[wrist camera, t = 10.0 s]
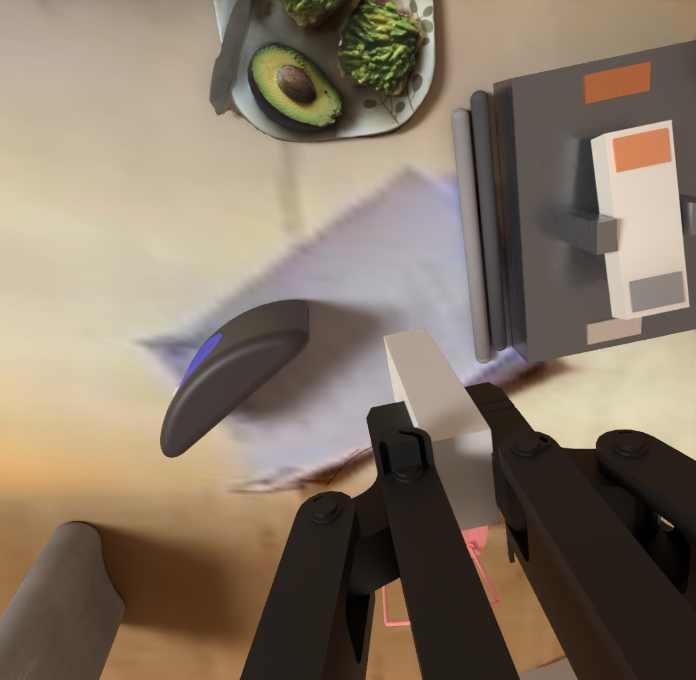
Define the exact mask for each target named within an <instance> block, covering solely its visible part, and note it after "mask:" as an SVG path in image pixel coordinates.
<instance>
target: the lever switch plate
mask: <svg viewBox="0 0 696 680" xmlns="http://www.w3.org/2000/svg"><path fill="white" fill-rule="evenodd" d="M493 85H494V99H495V113H496V127H497V141H498V155H499V169H500V183H501V197H502V211H503V224H504V238H505V252H506V266H507V280H508V294H509V308H510V322H511V336H512V347H513V348H514V349H515V350H516V351H517V352H518V353H519V354H520V355H521V357H522V358H523V359H524V360H525V361H526V362H527V363H528V364H530V363H535V362H540V361H544V360H549V359H554V358H559V357H564V356H569V355H573V354H578V353H583V352H588V351H593V350H597V349H602V348H607V347H612V346H617V345H621V344H626V343H631V342H636V341H641V340H645V339H650V338H655V337H660V336H665V335H669V334H674V333H679V332H684V331H689V330H693V329H696V40H694V41H689V42H684V43H680V44H675V45H670V46H665V47H660V48H656V49H651V50H646V51H641V52H636V53H632V54H627V55H622V56H617V57H612V58H607V59H603V60H598V61H593V62H588V63H583V64H579V65H574V66H569V67H564V68H559V69H555V70H550V71H545V72H540V73H535V74H530V75H526V76H521V77H516V78H511V79H508V80H504V81H501V82H497V83H493ZM668 120H672V130H673V140H674V151H675V161H676V171H677V182H678V192H679V203H680V213H681V223H682V234H683V244H684V254H685V265H686V275H687V286H688V296H689V306H690V307H686V308H681V309H677V310H672V311H667V312H662V313H657V314H653V315H648V316H643V317H638V318H633V319H629V320H624V319H619V318H614V317H612V311H611V303H610V294H609V286H608V278H607V270H606V261H605V253H609V252H614V251H616V250H617V219H615V218H611V217H607V216H603V215H600V212H599V204H598V196H597V187H596V179H595V171H594V163H593V154H592V146H591V140H592V139H594V138H596V137H599V136H601V135H603V134H605V133H610V132H615V131H620V130H625V129H629V128H634V127H639V126H644V125H649V124H654V123H658V122H663V121H668Z"/></svg>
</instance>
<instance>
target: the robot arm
mask: <svg viewBox="0 0 696 680" xmlns="http://www.w3.org/2000/svg"><path fill="white" fill-rule="evenodd" d="M384 342H385V347H386V353H387V359H388V364H389V370H390V375H391V381H392V387H393V392H394V398H395V403H392V404H387V405H382V406H377V407H372V408H371V409H370V411H369V414H368V416H367V418H366V419H367V424H368V429H369V434H370V438H371V443H372V448H373V453H374V458H375V463H376V467H377V472H378V475H377V478H376V481H375V482H374V484H373V485H372V486H371V487H370V488H369V489H368V490H367V491H365V492H364V493H362V494H360V495H358V496H356V497H354V498H352V499H351V497H350V496H348V495H346V494H344V493H342V492H335V491H329V492H323V493H319V494H317V495H315V496H313V497H310V498H309V499H308V500H307V501H305V502H304V503H303V504H302V505H301V507H300V508H299V510H298V512H297V514H296V517H295V520H294V523H293V525H292V528H291V531H290V534H289V537H288V540H287V543H286V546H285V549H284V552H283V555H282V558H281V561H280V564H279V566H278V569H277V572H276V575H275V578H274V581H273V584H272V587H271V590H270V593H269V596H268V599H267V602H266V604H265V607H264V610H263V613H262V616H261V619H260V622H259V625H258V628H257V631H256V634H255V637H254V640H253V642H252V645H251V648H250V651H249V654H248V657H247V660H246V663H245V666H244V669H243V672H242V675H241V678H240V680H365V678H366V670H367V662H368V654H369V645H370V637H371V629H372V621H373V613H374V604H375V591H376V590H377V589H379V588H381V587H383V586H385V585H387V584H388V583H390V582H392V581H394V580H396V579H398V578H399V577H400V579H401V584H402V589H403V593H404V598H405V602H406V607H407V612H408V616H409V621H410V625H411V630H412V634H413V639H414V644H415V648H416V653H417V657H418V662H419V667H420V671H421V676H422V680H520V678H519V676H518V673H517V671H516V668H515V666H514V663H513V661H512V658H511V656H510V653H509V651H508V648H507V646H506V643H505V641H504V638H503V636H502V633H501V631H500V628H499V626H498V623H497V620H496V618H495V615H494V613H493V610H492V608H491V605H490V603H489V600H488V598H487V595H486V593H485V590H484V588H483V585H482V583H481V580H480V578H479V575H478V573H477V570H476V568H475V565H474V563H473V560H472V558H471V555H470V553H469V550H468V548H467V545H466V543H465V540H464V538H463V535H462V533H461V531H463V530H468V529H473V528H478V527H483V526H487V525H492V524H497V523H500V520H499V510H498V507H499V508H500V510H501V512H502V514H503V516H504V518H505V524H506V535H507V546H508V556H509V561H510V563H513V562H515V560H514V552H515V554H516V556H517V558H518V560H519V562H520V564H521V566H522V568H523V570H524V572H525V574H526V576H527V578H528V580H529V582H530V584H531V586H532V588H533V590H534V592H535V594H536V596H537V598H538V600H539V602H540V604H541V606H542V608H543V610H544V612H545V614H546V616H547V618H548V620H549V622H550V624H551V626H552V628H553V630H554V632H555V634H556V636H557V638H558V640H559V642H560V644H561V646H562V648H563V650H564V652H565V654H566V656H567V658H568V660H569V662H570V665H571V666H572V668H573V671H574V672H575V675H576V676H577V678H578V680H696V461H695V460H694V459H692V458H690V457H688V456H687V455H685V454H683V453H681V452H680V451H678V450H676V449H674V448H673V447H671V446H669V445H667V444H666V443H664V442H662V441H660V440H659V439H657V438H655V437H653V436H651V435H648V434H646V433H644V432H640V431H635V430H614V431H609V432H606V433H604V434H603V435H601V436H600V437H599V438H598V440H597V442H596V449H571V448H563V447H560V446H559V444H558V443H557V442H556V441H555V440H554V439H553V438H551V437H550V436H549V435H546V434H543V433H541V432H535V431H534V430H533V429H532V428H531V426H530V425H529V424H528V422H527V421H526V420H525V418H524V417H523V416H522V415H521V413H520V412H519V411H518V409H517V408H515V406H514V404H513V403H512V402H511V400H509V398H508V397H507V395H506V394H505V393H504V391H503V390H502V389H501V388H499V387H497V386H495V385H493V384H491V383H489V382H486V383H482V384H477V385H472V386H467V387H464V386H463V385H462V383H461V382H460V380H459V378H458V377H457V375H456V374H455V372H454V370H453V369H452V367H451V366H450V364H449V363H448V361H447V359H446V358H445V356H444V355H443V353H442V351H441V350H440V348H439V347H438V345H437V344H436V342H435V340H434V339H433V337H432V336H431V334H430V332H429V331H428V329H427V328H426V327H424V328H419V329H415V330H410V331H405V332H400V333H395V334H391V335H386V336H384ZM661 517H663V518H664V519H665V520H667V521H668V522H670V523H671V524H672V525H674V528H672V527H671V526H669V525H667V524H666V523H664V522H663V521H662V520H661Z"/></svg>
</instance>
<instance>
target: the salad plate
mask: <svg viewBox="0 0 696 680" xmlns="http://www.w3.org/2000/svg"><path fill="white" fill-rule="evenodd" d="M268 4H273V5H275V11H274V13H272V14H268V13H266V11H265V7H266V6H267V5H268ZM214 5H215V11H216V17H217V24H218V29H219V34H220V39H221V43H222V44H221V46H222V49H221V53H220V55H219V57H218V58H217V59H216V61H215V65H214V69H213V74H212V80H211V86H210V102H211V103H212V106H213V107H214V109H215V111H216V114H217V115H221V114H224V113H225V112H226V111H227V110H233V111H235V112H237V113H238V114H240V115H241V116H243V117H244V118H245V119H246V120H247V121H248V122H249V123H251V124H252V125H253V126H254V127H255V128H256V129H258V130H260V131H261V132H263V133H264V134H268V135H270V136H271V137H273V138H275V139H278V140H282V141H290V142H311V141H324V140H331V139H340V138H351V137H358V138H361V137H374V136H378V135H384V134H390V133H393V132H395V131H397V130H398V129H400V128H401V127H402V126H403V125H405V124H406V123H407V122H408V121H409V120H410V118H411V117H412V116H413V115H414V114H415V112H416V111H417V110H418V108H419V107H420V105H421V104H422V102H423V101H424V99H425V97H426V96H427V94H428V92H429V89H430V87H431V85H432V82H433V76H434V70H435V61H436V45H435V44H436V40H435V26H434V0H403V5H404V13H405V15H404V14H402V13H399V12H396V10H397V7H396V5H395V4H394V3H393V2H387V3H385V7H383V6H380V5H378V4H377V3H376V1H374V0H214ZM341 38H342V45H341V46H338V45H339V41H340V40H341Z"/></svg>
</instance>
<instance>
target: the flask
mask: <svg viewBox="0 0 696 680" xmlns="http://www.w3.org/2000/svg"><path fill="white" fill-rule="evenodd" d="M124 613H125V603H124V602H123V600H122V599H121V597H120V596H119V594H118V593H117V591H116V590H115V589H114V587H113V585H112V583H111V581H110V579H109V576H108V574H107V571H106V568H105V565H104V561H103V556H102V546H101V537H100V535H99V533H98V532H97V530H96V529H94V528H93V527H91V526H90V525H88V524H84V523H81V522H69V523H66V524H63V525H61V526H60V527H59V528H57V529H56V530H55V532H54V533H53V535H52V537H51V538H50V540H49V541H48V543H47V545H46V546H45V548H44V549H43V551H42V552H41V554H40V556H39V557H38V559H37V560H36V562H35V563H34V565H33V567H32V568H31V570H30V571H29V573H28V575H27V576H26V578H25V579H24V581H23V582H22V584H21V586H20V587H19V589H18V590H17V592H16V593H15V595H14V597H13V598H12V600H11V601H10V603H9V605H8V606H7V608H6V609H5V611H4V612H3V614H2V616H1V617H0V680H99V679H100V676H101V673H102V671H103V668H104V665H105V663H106V660H107V658H108V655H109V652H110V650H111V647H112V644H113V642H114V639H115V636H116V634H117V631H118V629H119V626H120V623H121V621H122V618H123V615H124Z"/></svg>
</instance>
